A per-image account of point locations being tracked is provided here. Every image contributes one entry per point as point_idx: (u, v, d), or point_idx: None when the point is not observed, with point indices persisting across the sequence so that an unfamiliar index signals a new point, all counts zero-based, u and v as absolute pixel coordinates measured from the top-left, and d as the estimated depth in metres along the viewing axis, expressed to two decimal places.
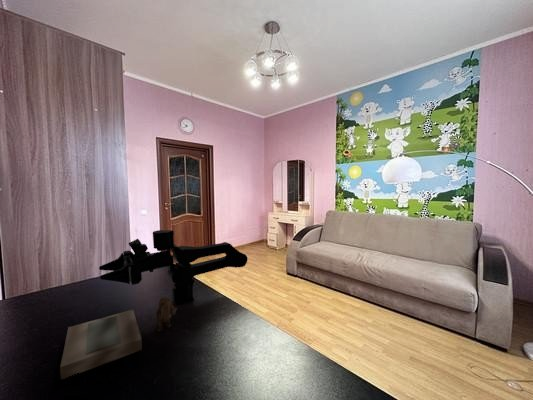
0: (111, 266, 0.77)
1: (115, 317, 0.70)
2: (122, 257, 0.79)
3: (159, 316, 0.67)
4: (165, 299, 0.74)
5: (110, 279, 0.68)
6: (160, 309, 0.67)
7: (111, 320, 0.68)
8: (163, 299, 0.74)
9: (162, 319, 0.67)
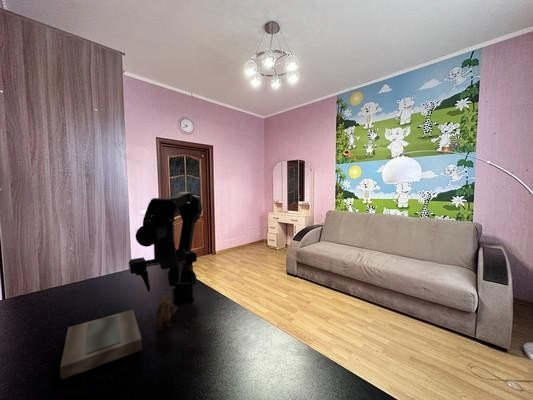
0: None
1: (115, 317, 0.70)
2: (147, 272, 0.67)
3: (159, 315, 0.67)
4: (165, 298, 0.75)
5: None
6: (160, 308, 0.67)
7: (111, 320, 0.68)
8: (163, 298, 0.74)
9: (162, 318, 0.67)
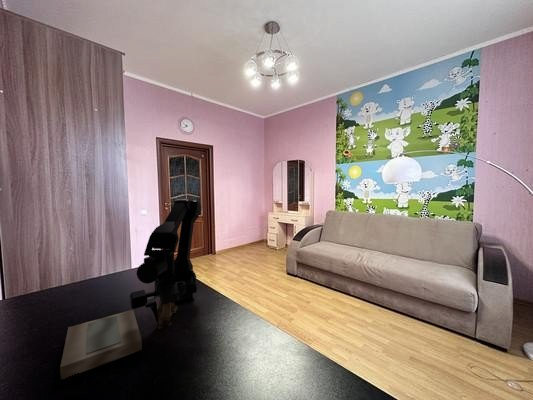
0: None
1: (115, 317, 0.70)
2: None
3: (160, 314, 0.68)
4: None
5: None
6: (161, 307, 0.67)
7: (111, 320, 0.68)
8: None
9: (163, 317, 0.68)
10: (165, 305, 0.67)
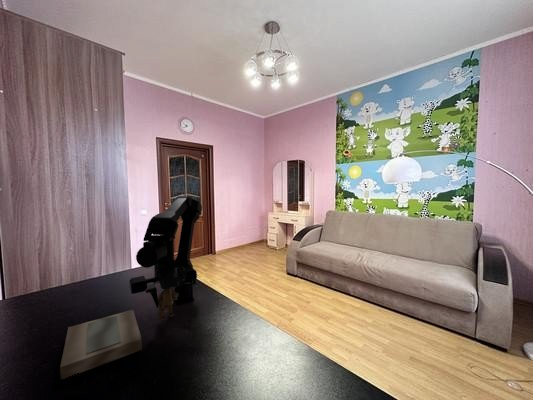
0: None
1: (115, 317, 0.70)
2: (156, 289, 0.68)
3: (161, 303, 0.67)
4: None
5: None
6: (162, 295, 0.67)
7: (111, 320, 0.68)
8: None
9: (165, 305, 0.67)
10: (165, 292, 0.67)
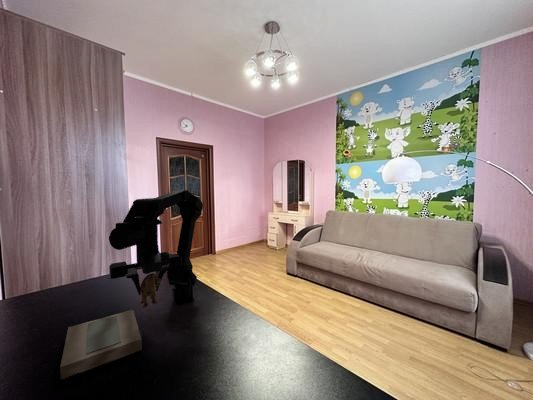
0: None
1: (115, 317, 0.70)
2: (138, 275, 0.65)
3: (143, 289, 0.64)
4: None
5: None
6: (144, 281, 0.64)
7: (111, 320, 0.68)
8: None
9: (147, 292, 0.64)
10: (148, 278, 0.64)
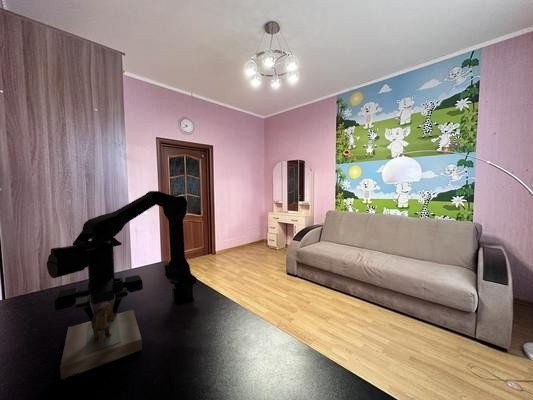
0: (92, 311, 0.61)
1: None
2: (90, 303, 0.59)
3: (94, 325, 0.57)
4: (105, 305, 0.64)
5: None
6: (95, 317, 0.57)
7: None
8: (103, 305, 0.64)
9: (98, 328, 0.57)
10: (99, 314, 0.57)
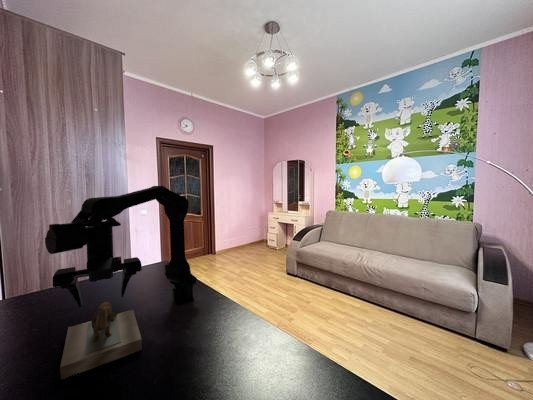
0: (78, 294, 0.59)
1: None
2: (76, 284, 0.57)
3: (94, 325, 0.57)
4: (105, 304, 0.64)
5: None
6: (95, 316, 0.57)
7: None
8: (103, 305, 0.64)
9: (98, 328, 0.57)
10: (99, 314, 0.57)
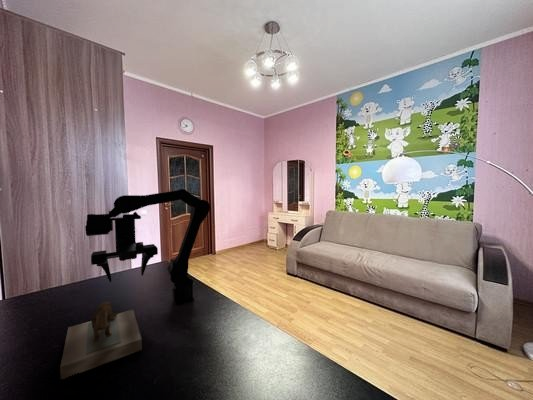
0: None
1: None
2: None
3: (94, 324, 0.57)
4: (105, 304, 0.65)
5: None
6: (95, 316, 0.57)
7: None
8: (103, 304, 0.64)
9: (98, 328, 0.57)
10: (99, 313, 0.57)
